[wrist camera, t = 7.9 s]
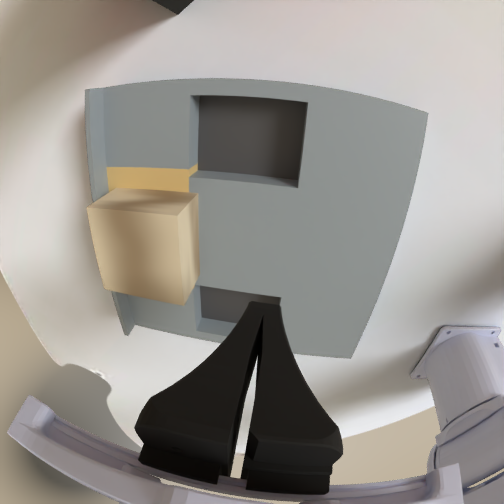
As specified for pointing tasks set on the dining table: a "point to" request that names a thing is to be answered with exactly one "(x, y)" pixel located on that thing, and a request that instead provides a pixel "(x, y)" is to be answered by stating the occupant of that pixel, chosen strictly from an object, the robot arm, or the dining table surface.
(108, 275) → the birch block
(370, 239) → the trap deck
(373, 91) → the dining table surface
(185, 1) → the cleaning product box
